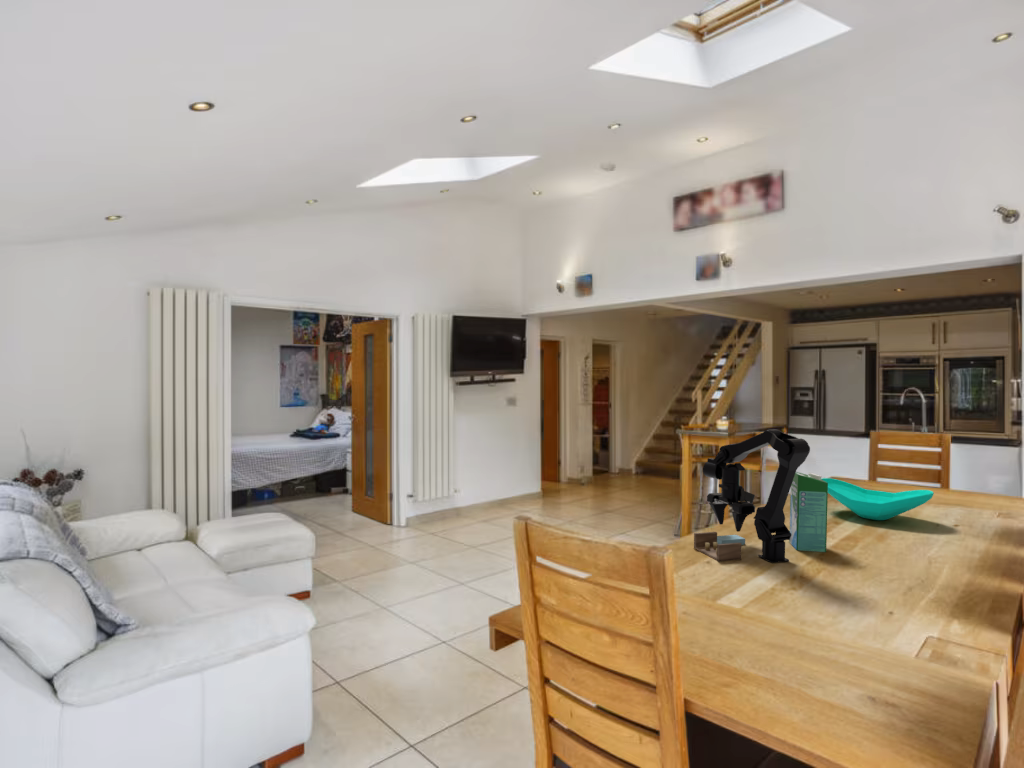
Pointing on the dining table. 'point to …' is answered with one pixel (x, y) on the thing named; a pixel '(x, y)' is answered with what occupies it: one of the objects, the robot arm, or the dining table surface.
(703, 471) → the robot arm
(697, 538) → the cradle
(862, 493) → the table top decor
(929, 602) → the dining table surface
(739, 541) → the block
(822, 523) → the milk carton
